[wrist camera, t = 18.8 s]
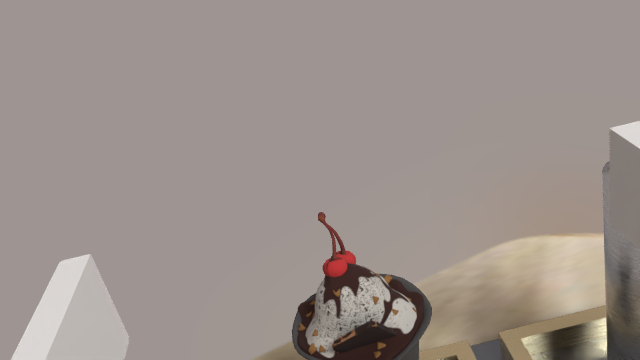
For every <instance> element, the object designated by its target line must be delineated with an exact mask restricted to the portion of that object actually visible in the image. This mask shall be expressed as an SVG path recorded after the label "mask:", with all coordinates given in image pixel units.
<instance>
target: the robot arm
mask: <svg viewBox="0 0 640 360" xmlns="http://www.w3.org/2000/svg"><path fill="white" fill-rule="evenodd" d="M610 223H611V224H612V225H613V226H614V227H615V228H616V229H617V230H618V231H619V232H620V233H621V234H622V235H624V236H625V237H626V238H627V239H628V240H629V241H630V242H631V243H632V244H633V245H634V246H635V247H636V248H637V249H638V250H640V121H638V122H634V123H630V124H625V125H622V126H617V127H613V128H610ZM128 343H129V336H128V334H127V332H126V330H125V328H124V325H123V323H122V321H121V319H120V317H119V315H118V313H117V310H116V308H115V306H114V304H113V302H112V299H111V297H110V295H109V293H108V291H107V289H106V286H105V284H104V282H103V280H102V278H101V276H100V273H99V271H98V269H97V267H96V265H95V262H94V261H93V258H92V256H91V254H88V255H84V256H80V257H76V258H71V259H67V260H63V261H60V263H59V265H58V267H57V269H56V271H55V273H54V275H53V277H52V279H51V281H50V283H49V285H48V287H47V289H46V291H45V293H44V295H43V297H42V299H41V301H40V303H39V305H38V307H37V309H36V311H35V313H34V315H33V317H32V319H31V321H30V323H29V325H28V327H27V329H26V331H25V333H24V335H23V337H22V339H21V341H20V343H19V345H18V347H17V349H16V351H15V353H14V355H13V357H12V359H11V360H124V358H125V354H126V350H127V347H128Z"/></svg>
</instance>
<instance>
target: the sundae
mask: <svg viewBox="0 0 640 360" xmlns="http://www.w3.org/2000/svg"><path fill="white" fill-rule="evenodd" d="M318 220H319V221H320V222H322V223H323V224H324V225H325V226H326V227H327V228H328V230H329V232H330V234H331V238H332V244H333V255H332V257H331V258H330V259H328V260H326V262H325V263H324V265H323V271H324V274H325V278H324V280H323V281H322V283H321V284H320V286H319V288H318V290H317V293H316V294H314V295H312V296H311V297H310V298H309V299H307V300H306V301H305V302H303V303H301V304H300V306H299V307H298V311H297V314H296V317H295V320H294V324H293V329H292V337H293V338H292V339H293V344H294V347H295V349H296V350H297V352H298V353H299V354H300V355H301V356H303V357H304V358H306V359H308V360H419V339H420V338H421V337H422V335H423V334H424V332H425V330H426V328H427V327H428V325H429V323H430V319H431V315H432V307H431V305H430V303H429V301H428V299H427V298H426V296H425V295H424V294H423V293H422V292H421V291H420V290H419V289H418V288H417V287H416V286H414V285H413V284H412V283H410V282H408V281H407V280H405V279H403V278H401V277H397V276H394V275H387V274H377V273H376V272H374V271H373V270H371V269H369V268H366V267H364V266H360V265H356V258H355V256H354V255H353V254H352V253H351V252H350V251H345V248H344V245H343V242H342V240H341V239H340V237H339V236H338V234H337V232H336V231H335V230H334V229H333V228H332V227H331V226H329V225H328V224H327V223H326V222H325V214H324V213H322V212H320V213H319V214H318ZM333 233H334V235H335V236H336V238H337V240H338V242H339V245H340V248H341V251H338V252H336V244H335V238H334V235H333Z"/></svg>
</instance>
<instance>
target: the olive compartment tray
mask: <svg viewBox="0 0 640 360" xmlns="http://www.w3.org/2000/svg"><path fill="white" fill-rule="evenodd" d="M602 173H603V212H604V252H605V290H606V305H605V306H601V307H597V308H593V309H589V310H585V311H581V312H577V313H573V314H569V315H565V316H561V317H557V318H553V319H549V320H545V321H541V322H537V323H533V324H529V325H525V326H521V327H517V328H513V329H509V330H505V331H501V332H499V339H497V340H493V341H489V342H485V343H481V344H477V345H473V346H470V345H469V343H468V341H467V340H465V341H461V342H457V343H453V344H449V345H445V346H441V347H437V348H433V349H429V350H425V351H421V352H419V360H640V250H638V249H637V248H636V247H635V246H634V245H633V244H632V243H631V242H630V241H629V240H628V239H627V238H626V237H625V236H624V235H622V234H621V233H620V232H619V231H618V230H617V229H616V228H615V227H614V226H613V225H612V224H611V223H610V161H609V162H608V163H606V164H605V166H604V167H603V171H602Z"/></svg>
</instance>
